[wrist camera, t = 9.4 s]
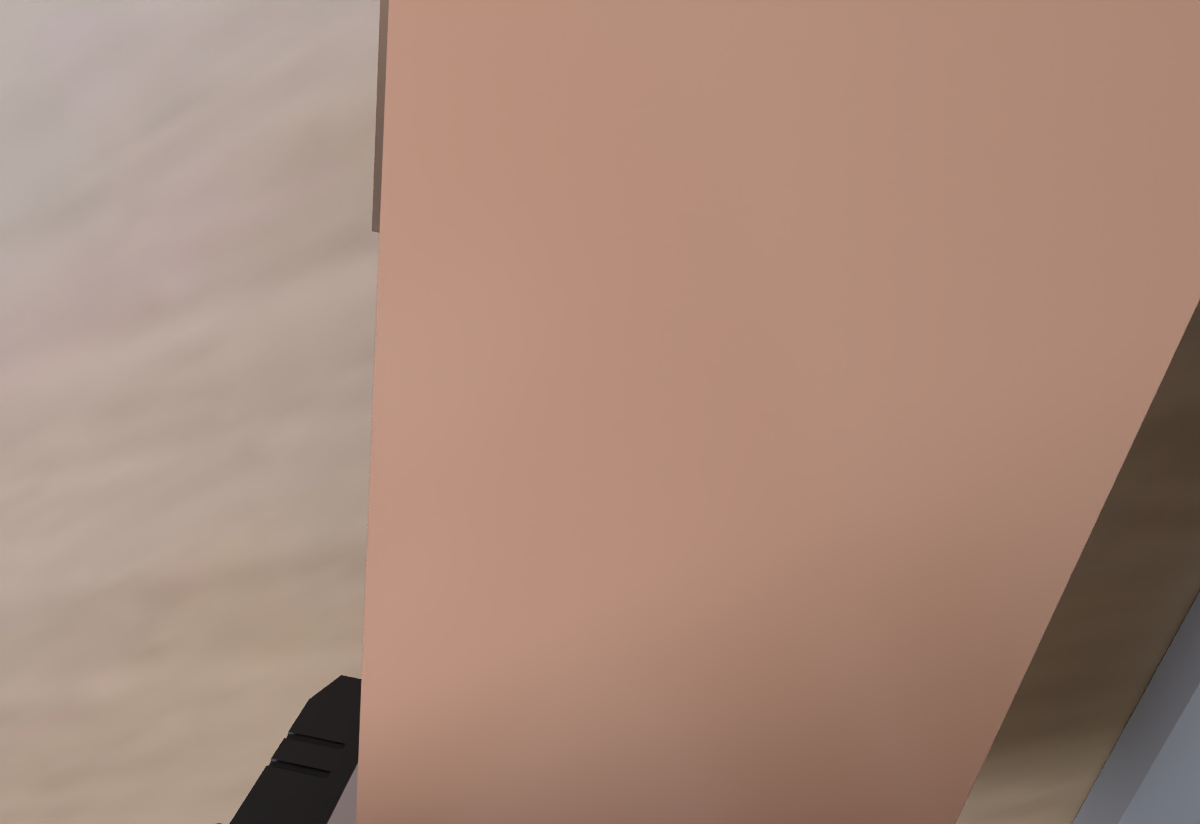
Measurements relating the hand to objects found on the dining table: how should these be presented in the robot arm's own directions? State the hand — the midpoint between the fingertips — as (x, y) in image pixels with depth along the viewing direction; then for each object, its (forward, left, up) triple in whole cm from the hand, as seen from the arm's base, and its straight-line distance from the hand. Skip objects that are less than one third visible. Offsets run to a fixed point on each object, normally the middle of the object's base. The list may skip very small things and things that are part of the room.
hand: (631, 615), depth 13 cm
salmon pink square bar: (0, 0, +3) cm, 3 cm away
